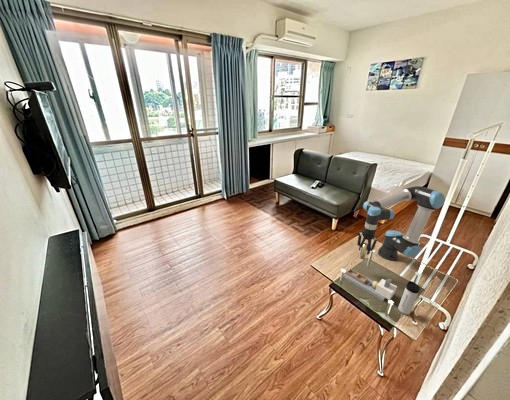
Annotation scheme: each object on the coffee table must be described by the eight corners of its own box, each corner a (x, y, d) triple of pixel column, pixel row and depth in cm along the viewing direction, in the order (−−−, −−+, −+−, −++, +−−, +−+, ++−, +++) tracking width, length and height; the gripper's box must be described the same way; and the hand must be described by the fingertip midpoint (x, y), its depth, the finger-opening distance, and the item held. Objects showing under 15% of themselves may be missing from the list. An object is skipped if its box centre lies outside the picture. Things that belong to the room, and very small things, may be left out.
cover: (380, 285, 150) (383, 274, 146) (394, 293, 143) (398, 281, 140) (374, 291, 144) (378, 279, 140) (389, 300, 137) (393, 287, 134)
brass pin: (361, 256, 165) (364, 242, 161) (365, 258, 162) (369, 244, 158) (358, 257, 163) (362, 243, 158) (363, 260, 160) (367, 246, 156)
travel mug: (406, 307, 135) (417, 282, 128) (411, 316, 129) (422, 289, 122) (395, 305, 136) (405, 279, 130) (400, 314, 130) (410, 287, 123)
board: (350, 270, 166) (351, 264, 164) (389, 292, 147) (392, 285, 145) (342, 277, 159) (344, 270, 157) (383, 301, 139) (385, 293, 137)
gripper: (356, 225, 157) (349, 252, 165) (380, 234, 146) (372, 263, 154) (360, 222, 162) (354, 249, 170) (384, 231, 150) (376, 259, 159)
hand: (362, 255), depth 162 cm, fingers closed on brass pin, 3 cm apart
